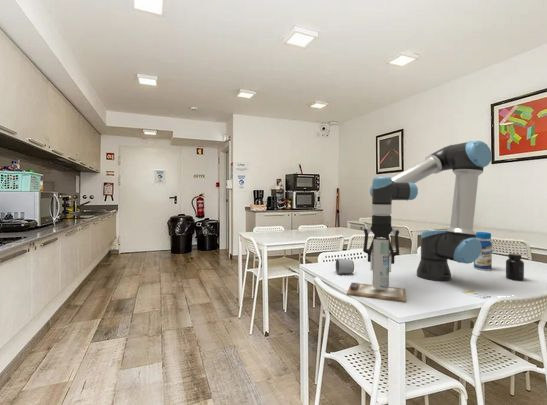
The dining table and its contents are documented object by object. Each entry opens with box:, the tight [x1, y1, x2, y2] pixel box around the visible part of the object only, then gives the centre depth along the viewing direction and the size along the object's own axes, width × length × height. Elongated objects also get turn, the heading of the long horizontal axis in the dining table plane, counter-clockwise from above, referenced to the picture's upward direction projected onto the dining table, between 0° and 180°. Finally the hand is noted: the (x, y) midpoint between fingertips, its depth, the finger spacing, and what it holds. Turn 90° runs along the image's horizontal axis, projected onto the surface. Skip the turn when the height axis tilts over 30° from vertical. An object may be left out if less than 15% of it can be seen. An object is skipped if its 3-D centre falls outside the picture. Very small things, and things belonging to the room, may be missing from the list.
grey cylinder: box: [335, 258, 355, 275], centre depth 153 cm, size 11×8×8 cm
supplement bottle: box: [505, 253, 525, 282], centre depth 143 cm, size 7×7×12 cm
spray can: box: [372, 237, 390, 290], centre depth 121 cm, size 6×6×20 cm
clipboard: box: [346, 282, 407, 303], centre depth 122 cm, size 22×15×2 cm
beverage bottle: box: [473, 231, 494, 271], centre depth 162 cm, size 8×8×20 cm
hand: (380, 270), depth 121 cm, fingers closed on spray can, 6 cm apart
